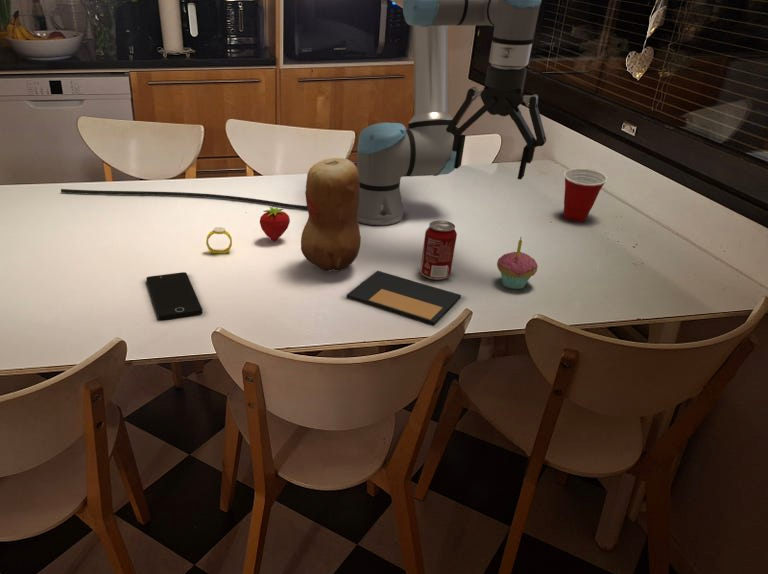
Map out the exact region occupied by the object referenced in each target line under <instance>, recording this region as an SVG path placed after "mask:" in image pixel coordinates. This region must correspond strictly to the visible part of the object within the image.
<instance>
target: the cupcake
mask: <svg viewBox="0 0 768 574" xmlns="http://www.w3.org/2000/svg"><path fill="white" fill-rule="evenodd" d="M522 245H523V239H522V236H520V238H519V239H518V242H517V247H516V251H511V252H508V253H504V254H503V255H501V256H500V257H498V259H497V262H496V266H497V269H498V272H500V275H501V283H502V285H503V286H504V287H506V288H508V289H512V290H520V289H523V288H525V286H526V284H527V283H528V281H529V280H530V278H531V277H533V276H534V275H535V274H536V273H537V272H538V267H539V266H538V262H537V261H536V260H535V259H534V258H533V257H531V255H529V254H527V253H524V252H522V251H521V249H522Z"/></svg>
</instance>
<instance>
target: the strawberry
mask: <svg viewBox="0 0 768 574" xmlns="http://www.w3.org/2000/svg"><path fill="white" fill-rule="evenodd" d="M274 206H276V205H275V204H274V205H272V206H270V207H269V209H265V210H263V211H262V212H263V214H262V215H261V216H260V217H259V218H260V219H259V226H260V228H261V230H262V231H263V233H264V234H265V235H266V237H268V238H269V239H270V240H271V241H272V242H277V241H278V240H279V239H280V238H281V237H282V235H284V233H285V232H286V231H287V230H288V228H289V225H290V222H291V219H290V215H288V213H287V212H285V211H283V210H284V208H278V207H275V208H274Z"/></svg>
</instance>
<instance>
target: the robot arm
mask: <svg viewBox="0 0 768 574" xmlns="http://www.w3.org/2000/svg"><path fill="white" fill-rule="evenodd" d="M390 1H391V2H392V3H394V4H395V5H396V6H398V7H400V8H401V9H402V14H403V18H404V21H405V23H406V24H407V25H409V26H413V27H412V30H413V32H412V33H413V34H412V35H413V36H412V37H413V117H412V118H411V119H410V120H409V121H408V123H407V127H408V128H406V126H405V125H404V124H403V123H400V122H377V123H374V124H371V125H368V126H366V127H365V128H363V129H362V130H361V131H360V133H359V136H358V142H357V147H356V151H357V155H356V168H357V170H358V173H359V176H360V180H359V186H360V200H359V206H358V224H363V225H366V226H367V225H369V226H388V225H394V224H397V223H399V222H400V221H402V220H403V219H404V213H405V211H404V210H405V209H404V204H403V199H402V194H401V189H400V187H401V178H403V177H404V178H405V177H406V178H407V177H409V178H410V177H429V176H433V177H436V176H442V175H449V174H451V173H452V172H454V171H455V169H459V168H460V167H461V166H462V162H463V154H464V149H465V143H466V136H467V135H466V134H463V133H464V132H466V131H467V130H468V129H469V127H470V128H471V126H472V125H473V124H474V123H475V122H476V121H478V119H479V118H481V117H482V116H483V115H484V114H485V113H488V114H489V115H490V116H496V115H498V116H500V117H507V116H509V118H510V119H511V120H512V121H513V123H514V124H515V126H516V127H517V129H518V131H519V133H520V134H521V136H522V138H523V140H524V141H525V144H526V145H525V146H524V147H523V150H522V155H521V159H520V164H519V169H518V173H517V180H522V179H523V178H524V177H525V172H526V168H527V164H531V162H533V160H534V156H535V150H536V148H537V147H543V146H544V145H545V144H546V142H547V136H546V133H545V128H544V126H543V125H544V124H543V121H542V117H541V113H540V110H539V107H538V105H539V95H538V94H536V93H534V94H532V95H525V94H524V87H525V83H526V78H527V72H528V69H527V68H526V67H527V66H528V65H529V63H530V56H531V52H532V47H533V40H534V36H535V32H536V27H537V21H538V18H539V12H540V8H541V4H542V0H390ZM449 26H490V27H493V34H492V39H491V44H490V51H489V58H488V62H489V64H490V65H488V66H487V69H486V77H485V82H484V87H483V89H478V88H477V87H476V86H472V87H470V88H469V89H467V92H466V96H465V100H464V101H463V102H462V104H461V106H460V107H459V108H458V110H457V111H456V113H455V115H454V116H453V117H452V115H450V113H449ZM479 97H480V99H481V101H482V103H483V105H482V106H481V107H480V108H479V109H478V110H477V111H476V112H475V113H474V114H473V115H471V116H470V117H469V118H468V119H467V120H466V121H465V122H464V123H463V124H461V126H460V127H457V126H458V124H459V123H460V121H461V120H462V118H463V117H464V115H465V114H466V112H467V111H468V109H469V108H470V106H471V105H472V103H473V102H474V101H476V100H477V99H478V98H479ZM522 103H525V106H526V107H527V108H528V113H529V116H530V120H531V124H532V127H533V130H534V133H533V132H532V130H531V128H530V126H528V123H527V121H526V120H525V118H524V116H523V114H522V111H521V110H520V108H519V106H520V105H521V104H522ZM534 135H535V136H534ZM60 193H64V194H65V193H66V194H86V195H88V194H89V195H128V196H129V195H135V196H174V197H175V196H178V197H195V198H196V197H198V198H211V199H222V200H233V201H240V202H249V203H257V204H262V205H263V204H264V205H271V206H273V205H274V204H275V205H274V206H276V207H283V208H290V209H297V210H307V211H308V209H307V205H303V204H301V205H300V204H293V203H285V202H280V201H279V202H278V201H273V200H265V199H258V198H252V197H245V196H244V197H243V196H236V195H235V196H234V195H225V194H213V193H200V192H184V191H183V192H181V191H180V192H179V191H151V190H150V191H148V190H147V191H144V190H141V191H140V190H94V189H93V190H92V189H91V190H90V189H87V190H86V189H70V188H69V189H68V188H61V189H60Z"/></svg>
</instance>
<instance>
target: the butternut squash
mask: <svg viewBox="0 0 768 574" xmlns="http://www.w3.org/2000/svg"><path fill="white" fill-rule="evenodd" d="M356 167H357V165H356V164H355V163H354V162H353V161H352V160H350V159H348V158H343V157H329V158H326V159H322V160H320V161H318V162H316V163H314V164H313V165H312V166H311V167H310V168H309V169H308V172H307V174H306V183H305V193H304V194H305V203H306V206H307V209H308V210H307V213H308V218H307V220H306V222H305V225H304V227H303V229H302V232H301V236H300V237H301V238H300V250H301V252H302V255H303V257H304V258H305V260H306V261H308V262H309V263H311V264H312V265H314V266H315V267H317V268H318V269H320V270H322V271H323V272H330V271H336V272H341V271H345V270H346V269H349V267H350V266H351V265H352V264H353V262H355V260H356V259H357V258H358V255H359V252H360V248H361V243H362V237H361V232H360V231H361V230H360V223H359V222H358V206H359V200H360V186H359V180H360V176H359V173H358V170H357V168H356Z"/></svg>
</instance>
